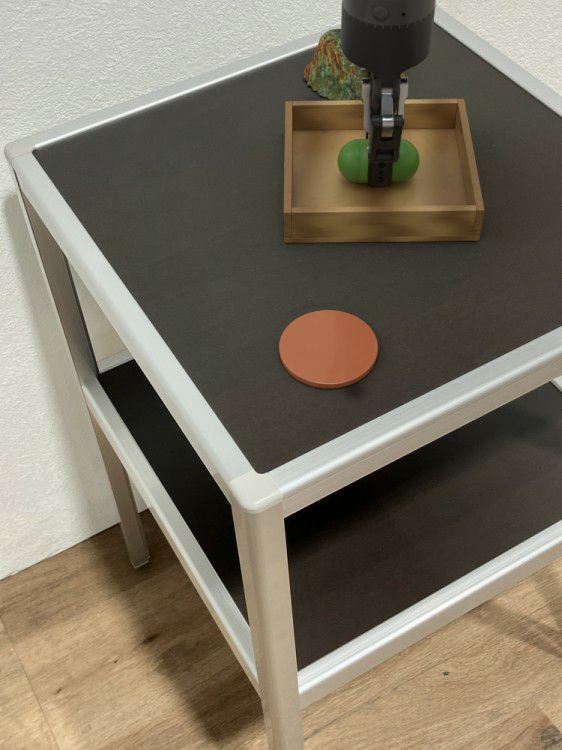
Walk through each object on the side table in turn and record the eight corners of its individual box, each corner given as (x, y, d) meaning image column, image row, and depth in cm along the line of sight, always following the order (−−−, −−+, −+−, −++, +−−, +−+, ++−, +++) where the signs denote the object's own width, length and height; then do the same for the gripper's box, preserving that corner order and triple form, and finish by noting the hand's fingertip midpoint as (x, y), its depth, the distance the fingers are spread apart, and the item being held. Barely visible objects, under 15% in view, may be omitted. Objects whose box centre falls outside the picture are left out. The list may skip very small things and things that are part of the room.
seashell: (329, 74, 96) (290, 25, 102) (326, 110, 99) (288, 60, 105) (418, 57, 99) (374, 11, 105) (412, 93, 102) (370, 46, 108)
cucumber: (416, 164, 92) (419, 129, 89) (419, 191, 90) (423, 156, 87) (336, 165, 93) (337, 130, 90) (337, 192, 90) (338, 157, 87)
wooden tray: (459, 129, 97) (464, 98, 94) (479, 241, 86) (484, 210, 83) (286, 131, 97) (285, 101, 94) (284, 243, 87) (283, 212, 84)
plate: (375, 314, 81) (375, 309, 80) (380, 388, 76) (380, 383, 75) (279, 314, 81) (279, 310, 81) (278, 389, 76) (278, 384, 76)
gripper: (444, 45, 73) (424, 219, 86) (428, -48, 82) (412, 122, 95) (344, 47, 73) (339, 220, 86) (339, -47, 82) (335, 123, 95)
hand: (377, 168), depth 90 cm, fingers closed on cucumber, 4 cm apart
